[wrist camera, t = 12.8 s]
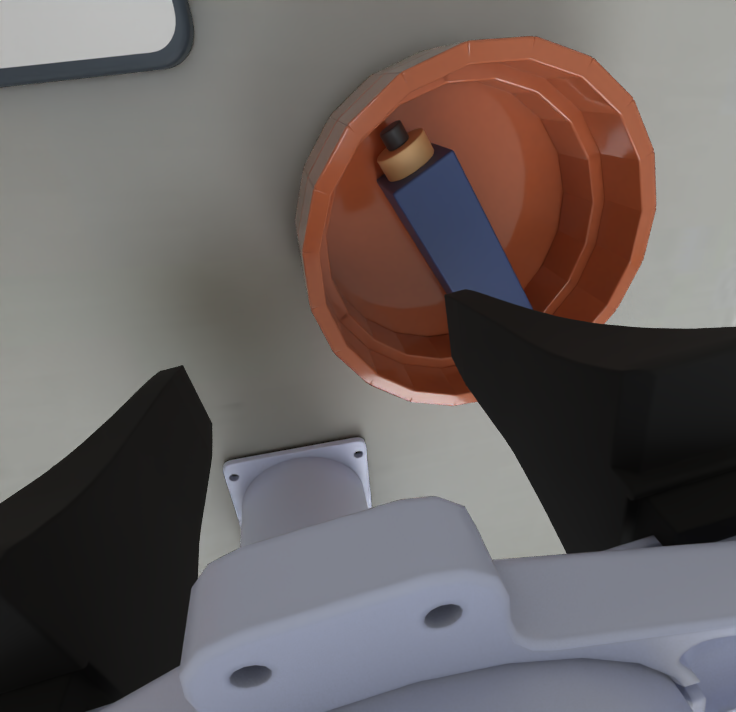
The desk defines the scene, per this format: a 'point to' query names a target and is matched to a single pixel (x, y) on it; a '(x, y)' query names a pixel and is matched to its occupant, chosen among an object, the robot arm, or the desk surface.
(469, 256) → the pencil
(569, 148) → the bowl
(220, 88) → the desk surface
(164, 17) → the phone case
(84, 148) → the desk surface
